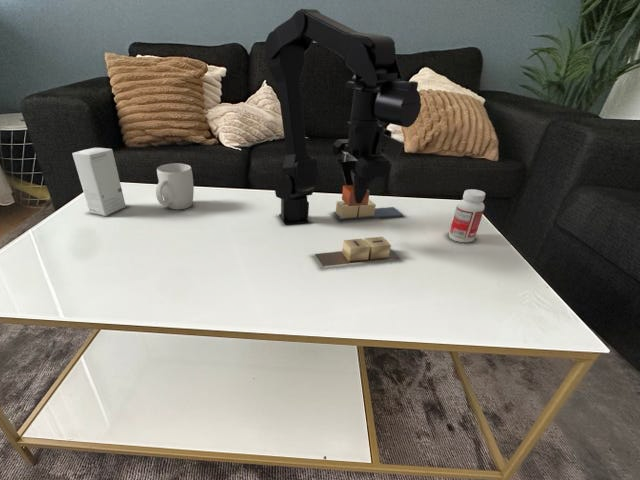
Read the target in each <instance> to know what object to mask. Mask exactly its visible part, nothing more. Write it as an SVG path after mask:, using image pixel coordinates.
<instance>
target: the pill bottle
mask: <svg viewBox="0 0 640 480" xmlns="http://www.w3.org/2000/svg"><path fill="white" fill-rule="evenodd" d="M485 198H486V192H485V191H483V190H480V189H475V188H474V189H472V188H471V189H465V190H464V192H463V195H462V199H460V200H459V201H458V202H457V205H456V207H455V211H454V213H453V218H452V222H451V225H450V228H449V233H448V236H449V238H450V239H451V240H453V241H455V242H458V243H472V242H473V241H475V239H476V236H477V233H478V230H479V227H480V224H481V220H482V217H483V214H484V212H485V207H486V206H485V203H484V200H485Z"/></svg>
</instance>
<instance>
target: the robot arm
mask: <svg viewBox="0 0 640 480" xmlns="http://www.w3.org/2000/svg"><path fill="white" fill-rule="evenodd" d="M314 42H315V43H317V44H318V45H320V46H322V47H324V48H326V49H327V50H330V51H331V52H333V53H335V54H336V55H339V56H340V58H342V59H343V60H344V63H345V65H346V67H347V68H348V69H350V70H351V71H352V72H353V73H354V74H353V76H352V77H351V78H350V79H349V80H348V81H346V83H345V88H346V89H352V90H353V93H352V94H353V95H352V104H351V113H350V121H346V129H348V130H349V131H348V138H343V139H342V138H340V139H336V141H334V143H333V144H332V154H333V155H334V156H335V157H339V156H340V154H341V157H340V158H338V159H337V163H338V164H339V168H340V171H341V174H342V177H343V180H344V184H345V185H353V188H354V194H355V199H356V203H357V204H358V203H362V201H363V198H364V196H365V194H366V192H367V190H369V187H370V185H371V184H372V182H373V180H375V179H376V178H387V177H389V178H390V177H391V176H392V171H393V164H392V162H391V161H390V160H389V159H387V158H386V157H384V156H383V155H382V154H384V155H387V156H389V157H392V159H394V160H396V161H397V160H398V159H399V157H400V154H401V153H402V150H403V148H404V146H405V143H403V142H402V141H400V140H398V139H396V138H394V137H392V134H393V133H392V131H391V130H389V129H388V128H385V127H384V125H382V124H380V123H385V124H389V125H393V126H399V127H403V128H410V127H412V125H414V124H415V122H416V121H417V119H418V117H419V115H420V112H421V109H422V99H421V94H420V92H419V91H418V87H419V81H415V80H410V81H409V80H408V81H405V80H404V76H403V74H402V70H401V68H400V67H401V66H400V64H399V60H398V57H397V54H396V45H395V44H396V42H395V40H394V39H393V38H392V37H391V36H388V35H382V34H377V33H367V32H359V31H357V30H355V29H353V28H351V27H349V26H347V25H345V24H343V23H341V22H339V21H337V20H335V19H333V18H331V17H329V16H327V15H325V14H322V13H321V12H320V11H319V10H318V9H314V8H300V9H298V10H296V11H295V13H294V14H293V15H292V16H291V17H290V18H289V19H287V20H285V21H284V22H282V23H281V24H279V25H277V26H276V27H275V29H273V30H272V31H270V32H269V33H268V35H267V37H266V39H265V41H264V46H263V49H264V55H265V60H266V64H267V69H268V71H269V73H270V74H271V76H272V77H273V79H274V80H275V82H276V84H277V92H278V100H279V107H280V113H281V114H280V116H281V123H282V131H283V137H284V145H285V153H286V154H285V158H284V161H283V164H282V167H281V179H280V180H279V181H278V183H277V184H276V185H275V186H274V193H275V197H276V198H278V199H280V213H279V214H278V215H279V218H280V220H281V222H282V223H283V224H284V225H297V224H307V223H309V219H308V218H309V213H310V212H309V211H310V202H309V201H308V196H313V194H314V190H315V188H316V185H317V184H318V177H320V174H319V172H318V160H317V158H312V157H311V155H310V154H309V152H308V147H307V137H306V130H305V119H304V110H303V101H302V93H301V82H300V80H301V76H302V73H303V71H304V67H305V61H306V60H305V59H306V58H305V56H306V55H305V53H307V51H308V50H310V48H312V46H313V43H314Z"/></svg>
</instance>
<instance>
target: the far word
mask: <svg viewBox="0 0 640 480" xmlns="http://www.w3.org/2000/svg"><path fill="white" fill-rule="evenodd" d="M376 206H377V205H376V203H375V202H373V201H372V200H371V199H370V198H369V200H368V205H363V206H348V205H347V204H346V203H345V202H344V201H343V200H338V201H336V202H335V211H333V215H334V216H335V217H336V218H337V220H338V221H340V222H351V221H363V220H376V219H381V220H382V219H391V218H403V216H404V214H403V213H402V212H400V211H399V210H398V209H396V207H394V206H388V207H377V208H376Z"/></svg>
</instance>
